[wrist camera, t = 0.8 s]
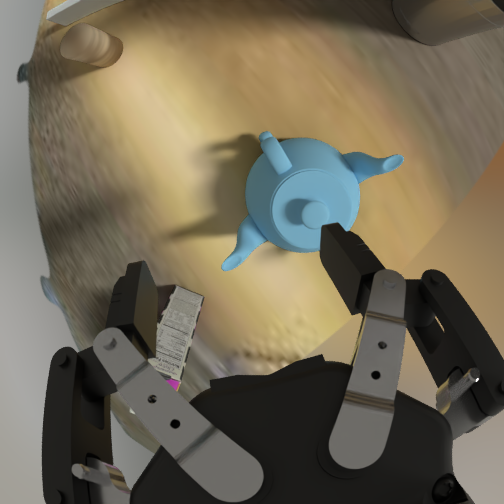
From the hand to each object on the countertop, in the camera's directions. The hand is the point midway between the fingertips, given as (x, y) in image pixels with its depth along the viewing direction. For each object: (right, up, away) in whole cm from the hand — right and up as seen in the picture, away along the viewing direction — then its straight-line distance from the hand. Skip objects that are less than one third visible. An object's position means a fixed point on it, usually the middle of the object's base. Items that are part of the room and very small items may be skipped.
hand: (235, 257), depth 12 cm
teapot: (+7, +7, +21) cm, 23 cm away
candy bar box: (-10, -10, +30) cm, 33 cm away
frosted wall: (-19, +34, +9) cm, 40 cm away
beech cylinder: (-18, +26, +13) cm, 34 cm away
